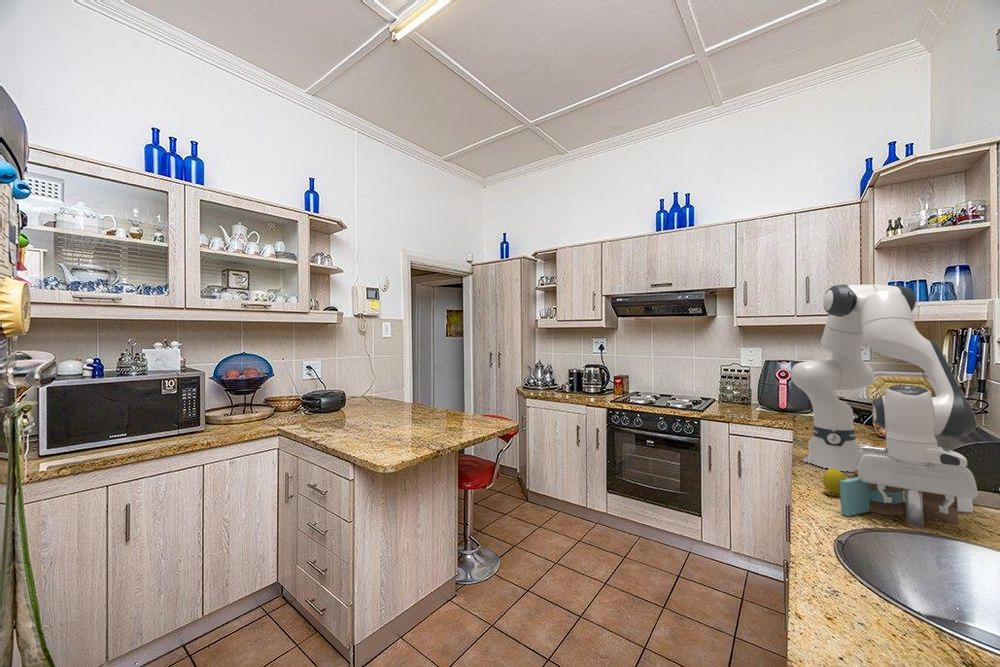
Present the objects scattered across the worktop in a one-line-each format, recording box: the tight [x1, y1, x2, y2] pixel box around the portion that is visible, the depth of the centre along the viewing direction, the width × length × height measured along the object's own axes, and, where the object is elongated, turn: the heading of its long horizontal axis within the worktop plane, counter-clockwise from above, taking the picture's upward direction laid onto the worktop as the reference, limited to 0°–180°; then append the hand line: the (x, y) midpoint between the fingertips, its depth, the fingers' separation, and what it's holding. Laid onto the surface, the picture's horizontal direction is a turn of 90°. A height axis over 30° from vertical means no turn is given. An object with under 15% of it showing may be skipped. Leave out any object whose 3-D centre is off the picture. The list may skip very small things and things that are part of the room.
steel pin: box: [903, 489, 925, 528], centre depth 96 cm, size 3×3×11 cm
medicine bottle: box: [957, 497, 974, 514], centre depth 107 cm, size 7×7×12 cm
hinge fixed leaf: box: [854, 470, 959, 525], centre depth 103 cm, size 9×19×9 cm, turn 49°
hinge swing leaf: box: [840, 477, 905, 517], centre depth 105 cm, size 19×9×9 cm, turn 109°
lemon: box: [822, 468, 847, 496], centre depth 116 cm, size 6×6×8 cm
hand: (914, 507), depth 96 cm, fingers open, 8 cm apart
